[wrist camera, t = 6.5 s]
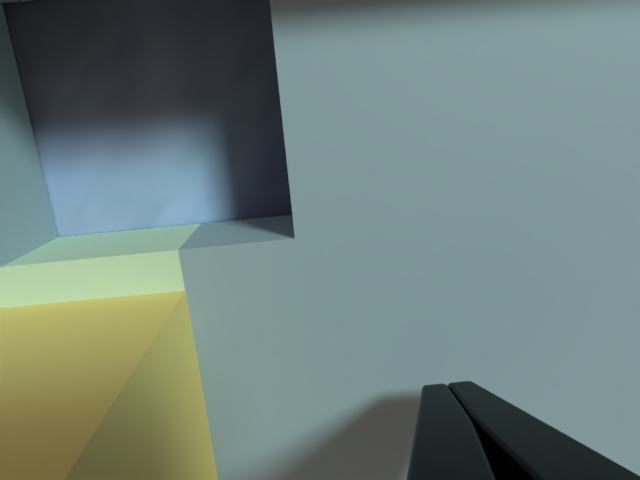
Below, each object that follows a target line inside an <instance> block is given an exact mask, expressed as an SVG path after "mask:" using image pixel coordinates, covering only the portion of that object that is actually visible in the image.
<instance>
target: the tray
mask: <svg viewBox="0 0 640 480" xmlns="http://www.w3.org/2000/svg"><path fill="white" fill-rule="evenodd" d="M22 1H33V0H0V308H5V307H15V306H26V305H36V304H46V303H57V302H67V301H77V300H88V299H98V298H109V297H119V296H129V295H140V294H150V293H161V292H171V291H181V290H186V296H187V302H188V308H189V313H190V319H191V325H192V331H193V337H194V343H195V348H196V354H197V360H198V366H199V372H200V378H201V383H202V389H203V395H204V401H205V407H206V413H207V418H208V424H209V430H210V436H211V442H212V447H213V453H214V459H215V465H216V471H217V477H218V480H406V479H407V473H408V467H409V461H410V455H411V449H412V443H413V438H414V432H415V426H416V420H417V414H418V408H419V402H420V396H421V391H422V387H423V386H424V385H430V384H441V383H443V384H446V385H448V384H449V383H451V382H461V381H471V382H474V383H475V384H477V385H479V386H481V387H483V388H484V389H486V390H488V391H490V392H491V393H493V394H495V395H497V396H499V397H500V398H502V399H504V400H506V401H507V402H509V403H511V404H513V405H515V406H516V407H518V408H520V409H522V410H523V411H525V412H527V413H529V414H531V415H532V416H534V417H536V418H538V419H539V420H541V421H543V422H545V423H547V424H548V425H550V426H552V427H554V428H555V429H557V430H559V431H561V432H563V433H564V434H566V435H568V436H570V437H571V438H573V439H575V440H577V441H579V442H580V443H582V444H584V445H586V446H587V447H589V448H591V449H593V450H595V451H596V452H598V453H600V454H602V455H604V456H605V457H607V458H609V459H611V460H612V461H614V462H616V463H618V464H620V465H621V466H623V467H625V468H627V469H628V470H630V471H632V472H634V473H636V474H637V475H639V476H640V0H269V1H270V11H271V20H272V29H273V39H274V48H275V57H276V67H277V76H278V85H279V95H280V104H281V114H282V123H283V132H284V142H285V151H286V160H287V170H288V179H289V188H290V198H291V207H292V215H284V216H274V217H263V218H253V219H242V220H232V221H222V222H211V223H201V224H190V225H180V226H170V227H159V228H149V229H138V230H128V231H117V232H107V233H97V234H86V235H76V236H65V237H58V234H57V230H56V226H55V221H54V217H53V213H52V209H51V205H50V201H49V197H48V192H47V188H46V184H45V180H44V176H43V172H42V167H41V163H40V159H39V155H38V151H37V147H36V142H35V138H34V134H33V130H32V126H31V122H30V117H29V113H28V109H27V105H26V101H25V97H24V92H23V88H22V84H21V80H20V76H19V72H18V68H17V63H16V59H15V55H14V51H13V47H12V43H11V38H10V34H9V30H8V26H7V22H6V18H5V13H4V9H3V5H2V3H10V2H22Z"/></svg>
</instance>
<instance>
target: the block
mask: <svg viewBox="0 0 640 480" xmlns="http://www.w3.org/2000/svg"><path fill="white" fill-rule="evenodd" d="M0 480H218V477H217V471H216V465H215V459H214V453H213V447H212V442H211V436H210V430H209V424H208V418H207V413H206V407H205V401H204V395H203V389H202V383H201V378H200V372H199V366H198V360H197V354H196V348H195V343H194V337H193V331H192V325H191V319H190V313H189V308H188V302H187V296H186V290H181V291H171V292H161V293H150V294H140V295H129V296H119V297H109V298H98V299H88V300H77V301H67V302H57V303H46V304H36V305H26V306H15V307H5V308H0Z"/></svg>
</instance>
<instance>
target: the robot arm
mask: <svg viewBox="0 0 640 480" xmlns="http://www.w3.org/2000/svg"><path fill="white" fill-rule="evenodd" d="M406 480H640V476H639V475H637V474H636V473H634V472H632V471H630V470H628V469H627V468H625V467H623V466H621V465H620V464H618V463H616V462H614V461H612V460H611V459H609V458H607V457H605V456H604V455H602V454H600V453H598V452H596V451H595V450H593V449H591V448H589V447H587V446H586V445H584V444H582V443H580V442H579V441H577V440H575V439H573V438H571V437H570V436H568V435H566V434H564V433H563V432H561V431H559V430H557V429H555V428H554V427H552V426H550V425H548V424H547V423H545V422H543V421H541V420H539V419H538V418H536V417H534V416H532V415H531V414H529V413H527V412H525V411H523V410H522V409H520V408H518V407H516V406H515V405H513V404H511V403H509V402H507V401H506V400H504V399H502V398H500V397H499V396H497V395H495V394H493V393H491V392H490V391H488V390H486V389H484V388H483V387H481V386H479V385H477V384H475V383H474V382H471V381H461V382H451V383H449V384H448V385H446V384H443V383H441V384H430V385H424V386H423V387H422V391H421V396H420V402H419V408H418V414H417V420H416V426H415V432H414V438H413V443H412V449H411V455H410V461H409V467H408V473H407V479H406Z"/></svg>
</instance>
